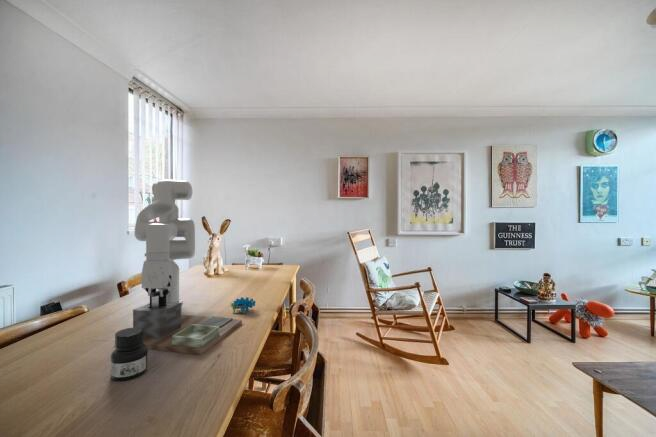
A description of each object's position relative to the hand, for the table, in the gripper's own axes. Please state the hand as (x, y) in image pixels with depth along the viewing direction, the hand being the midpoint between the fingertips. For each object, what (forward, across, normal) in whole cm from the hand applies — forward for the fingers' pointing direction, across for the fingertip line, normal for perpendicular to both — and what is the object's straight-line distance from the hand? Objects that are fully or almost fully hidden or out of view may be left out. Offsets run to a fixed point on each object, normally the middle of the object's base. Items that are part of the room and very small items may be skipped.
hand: (158, 305), depth 112 cm
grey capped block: (+4, 0, 0) cm, 4 cm away
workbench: (+11, +8, +4) cm, 14 cm away
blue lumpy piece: (+12, +18, +32) cm, 39 cm away
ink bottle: (+11, +11, -24) cm, 29 cm away
